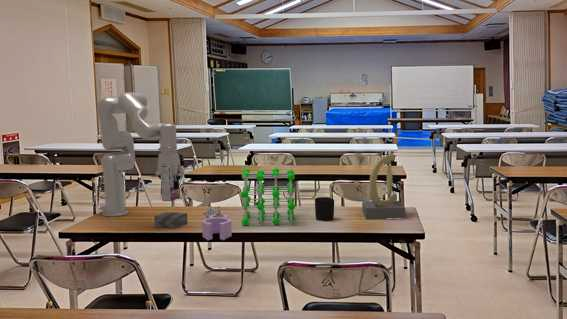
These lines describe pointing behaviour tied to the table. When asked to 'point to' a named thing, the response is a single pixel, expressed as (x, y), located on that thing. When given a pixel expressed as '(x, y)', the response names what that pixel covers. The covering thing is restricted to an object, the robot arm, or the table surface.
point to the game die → (213, 212)
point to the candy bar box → (168, 184)
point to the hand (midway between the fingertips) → (170, 188)
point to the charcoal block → (170, 220)
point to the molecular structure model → (275, 199)
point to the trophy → (377, 206)
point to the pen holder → (324, 208)
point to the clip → (217, 227)
